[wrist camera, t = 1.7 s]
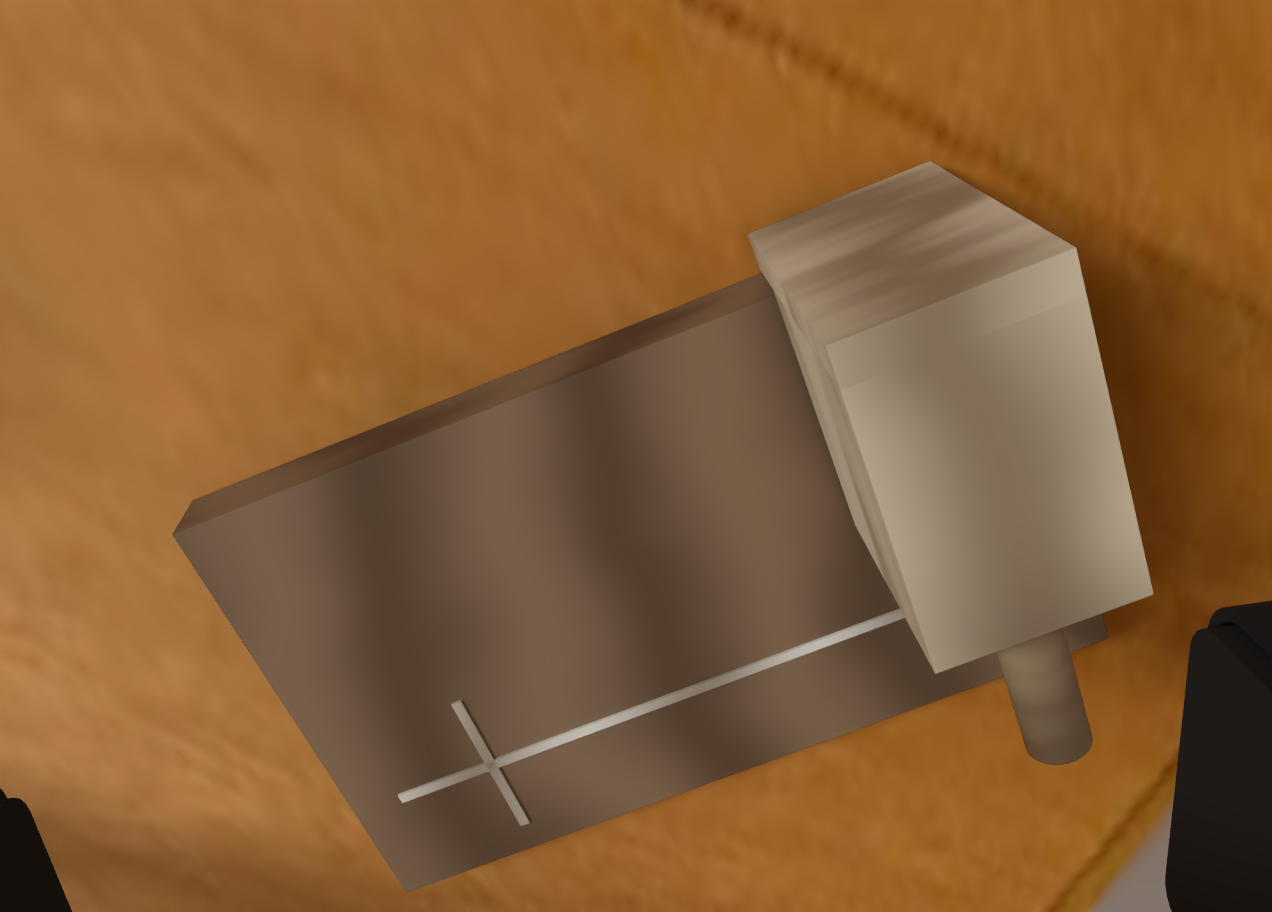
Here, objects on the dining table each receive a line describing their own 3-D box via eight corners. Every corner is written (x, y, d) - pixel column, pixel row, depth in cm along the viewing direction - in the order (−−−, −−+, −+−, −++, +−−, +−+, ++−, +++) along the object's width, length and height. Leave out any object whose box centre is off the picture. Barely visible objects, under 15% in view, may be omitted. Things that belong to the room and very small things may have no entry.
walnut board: (972, 189, 31) (1001, 207, 29) (1079, 603, 36) (1109, 640, 35) (192, 500, 33) (171, 536, 31) (412, 846, 38) (406, 894, 36)
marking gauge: (929, 161, 30) (1076, 247, 22) (1038, 559, 35) (1187, 745, 27) (747, 234, 30) (825, 345, 22) (881, 616, 35) (983, 817, 27)
